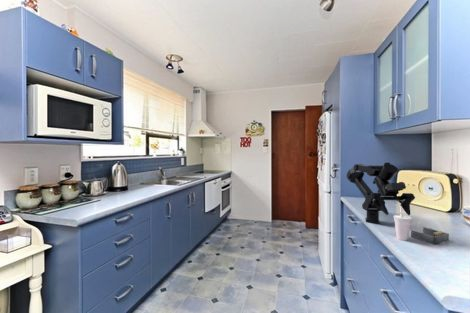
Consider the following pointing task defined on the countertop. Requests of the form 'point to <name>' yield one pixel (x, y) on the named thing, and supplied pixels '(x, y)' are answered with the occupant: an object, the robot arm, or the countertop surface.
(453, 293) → the countertop surface
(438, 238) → the bracket
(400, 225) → the smoothie
